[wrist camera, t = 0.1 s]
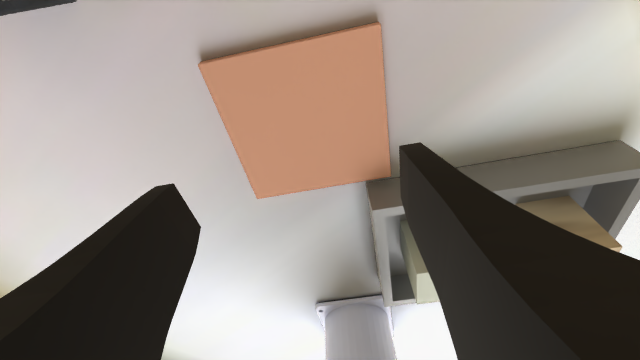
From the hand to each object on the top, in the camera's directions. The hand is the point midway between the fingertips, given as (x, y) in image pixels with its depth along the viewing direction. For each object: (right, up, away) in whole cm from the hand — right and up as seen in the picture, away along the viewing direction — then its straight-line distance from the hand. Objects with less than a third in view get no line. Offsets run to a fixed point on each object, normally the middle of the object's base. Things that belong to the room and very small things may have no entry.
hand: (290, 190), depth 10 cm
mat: (0, +4, +10) cm, 10 cm away
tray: (+14, -3, +16) cm, 21 cm away
